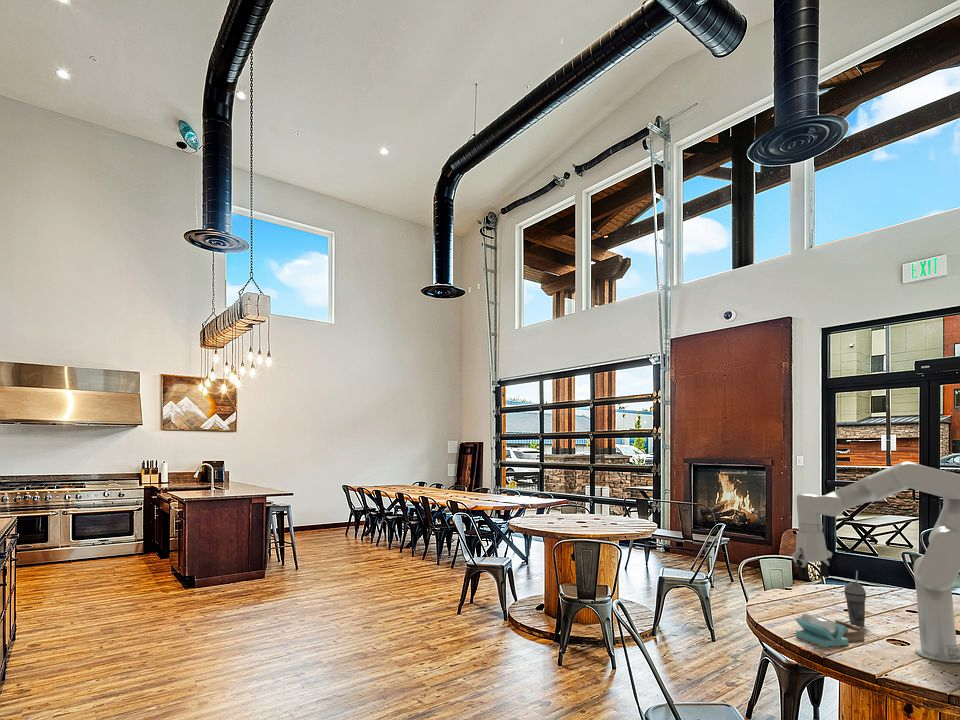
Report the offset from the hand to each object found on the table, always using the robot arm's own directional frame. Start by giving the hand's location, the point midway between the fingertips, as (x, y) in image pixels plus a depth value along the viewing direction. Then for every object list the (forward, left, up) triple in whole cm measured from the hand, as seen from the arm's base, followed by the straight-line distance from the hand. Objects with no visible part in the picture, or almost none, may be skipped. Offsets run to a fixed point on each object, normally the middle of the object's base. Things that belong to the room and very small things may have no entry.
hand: (813, 577), depth 214 cm
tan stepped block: (-1, -9, -20) cm, 23 cm away
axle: (-3, +2, -18) cm, 18 cm away
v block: (-3, +2, -20) cm, 21 cm away
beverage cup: (+9, -27, -21) cm, 35 cm away
